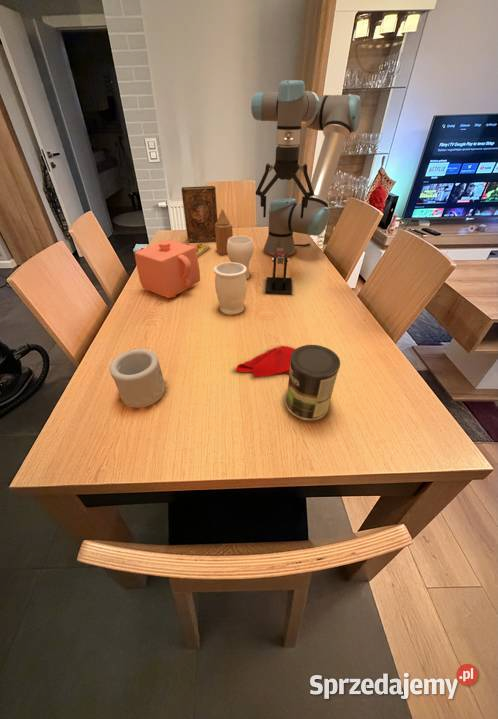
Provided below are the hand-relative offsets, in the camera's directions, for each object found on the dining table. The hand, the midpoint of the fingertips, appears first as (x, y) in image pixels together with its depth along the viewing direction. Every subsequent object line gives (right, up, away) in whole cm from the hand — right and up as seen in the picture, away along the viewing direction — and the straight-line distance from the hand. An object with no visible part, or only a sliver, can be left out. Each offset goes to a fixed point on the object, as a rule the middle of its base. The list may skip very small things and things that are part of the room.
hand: (283, 216), depth 110 cm
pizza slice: (-40, -2, +35) cm, 53 cm away
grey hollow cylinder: (-39, -60, -34) cm, 79 cm away
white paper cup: (-19, -35, -4) cm, 40 cm away
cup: (-16, -17, +17) cm, 29 cm away
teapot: (-41, -22, +11) cm, 48 cm away
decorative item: (-24, 0, +37) cm, 44 cm away
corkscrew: (0, -14, +6) cm, 15 cm away
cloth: (-3, -53, -26) cm, 60 cm away
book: (-37, +11, +50) cm, 63 cm away
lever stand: (-1, -24, +9) cm, 25 cm away
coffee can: (+1, -63, -38) cm, 74 cm away
